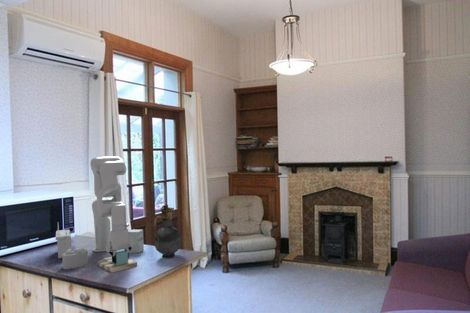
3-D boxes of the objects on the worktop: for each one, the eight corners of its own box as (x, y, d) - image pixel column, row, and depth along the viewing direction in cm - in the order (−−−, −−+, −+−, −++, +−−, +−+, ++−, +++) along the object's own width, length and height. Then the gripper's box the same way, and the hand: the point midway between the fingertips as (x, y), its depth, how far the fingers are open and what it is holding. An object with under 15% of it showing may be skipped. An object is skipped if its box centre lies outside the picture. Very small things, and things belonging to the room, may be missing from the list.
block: (113, 263, 192) (112, 252, 192) (124, 260, 196) (123, 249, 196) (117, 265, 189) (116, 253, 189) (128, 262, 193) (127, 251, 193)
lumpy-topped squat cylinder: (91, 262, 203) (90, 247, 203) (71, 270, 191) (70, 253, 191) (77, 260, 207) (76, 245, 207) (57, 268, 196) (56, 251, 196)
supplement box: (138, 253, 219) (137, 232, 219) (127, 252, 220) (126, 231, 220) (144, 249, 226) (143, 229, 226) (133, 249, 227) (132, 229, 227)
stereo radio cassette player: (72, 257, 214) (70, 223, 214) (56, 259, 211) (54, 225, 211) (71, 249, 233) (69, 218, 233) (56, 251, 230) (55, 219, 229)
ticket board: (97, 264, 198) (97, 259, 198) (122, 259, 207) (122, 253, 207) (111, 272, 185) (111, 266, 185) (137, 265, 194) (136, 260, 194)
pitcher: (184, 253, 214) (182, 202, 213) (163, 263, 197) (161, 207, 196) (169, 251, 219) (167, 201, 218) (148, 261, 202) (145, 206, 201)
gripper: (131, 223, 201) (132, 256, 201) (100, 229, 189) (101, 263, 190) (137, 225, 195) (139, 259, 196) (105, 231, 184) (107, 267, 184)
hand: (120, 261), depth 193 cm, fingers closed on block, 6 cm apart
